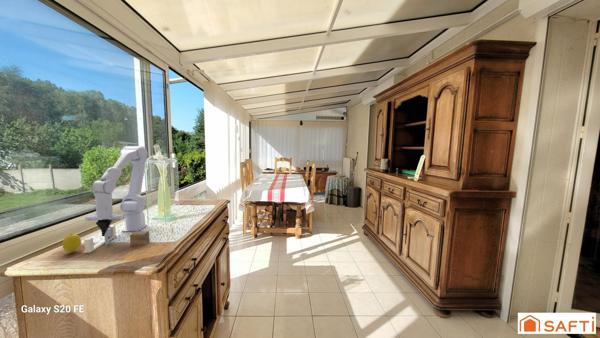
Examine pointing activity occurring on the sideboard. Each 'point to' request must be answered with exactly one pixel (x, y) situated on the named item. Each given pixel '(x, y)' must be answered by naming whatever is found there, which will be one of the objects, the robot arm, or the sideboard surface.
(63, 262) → the sideboard surface
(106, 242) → the door
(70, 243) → the lemon
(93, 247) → the white bracket
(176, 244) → the sideboard surface
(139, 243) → the brown block
